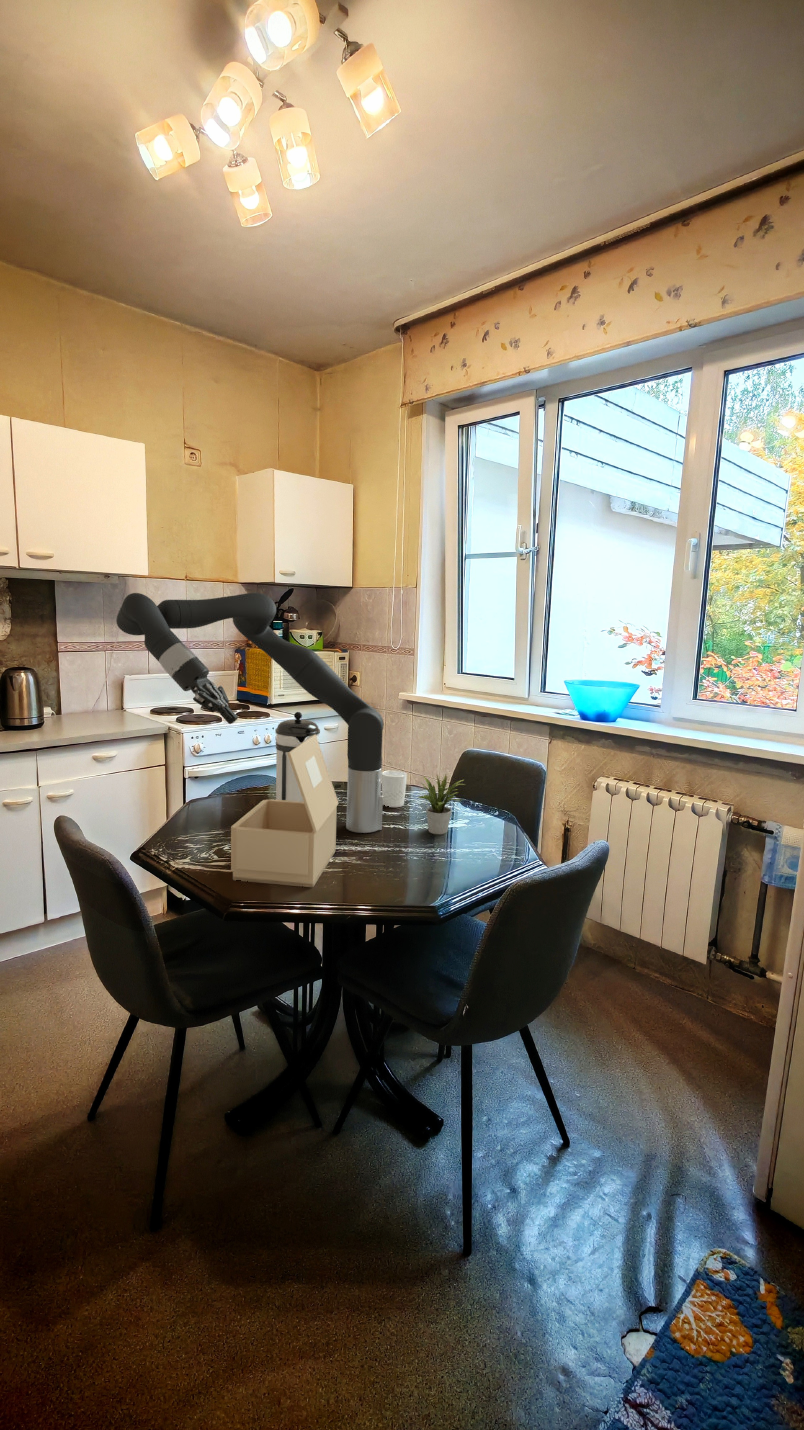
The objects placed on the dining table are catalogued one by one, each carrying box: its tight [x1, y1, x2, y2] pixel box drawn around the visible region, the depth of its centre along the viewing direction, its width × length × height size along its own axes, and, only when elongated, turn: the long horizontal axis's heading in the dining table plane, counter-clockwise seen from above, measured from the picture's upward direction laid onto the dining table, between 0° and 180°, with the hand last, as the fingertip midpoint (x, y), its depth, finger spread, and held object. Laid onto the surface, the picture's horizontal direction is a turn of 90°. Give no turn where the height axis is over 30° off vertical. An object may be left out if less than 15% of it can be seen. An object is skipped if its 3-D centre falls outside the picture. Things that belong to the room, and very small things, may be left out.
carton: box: [230, 798, 338, 888], centre depth 151 cm, size 19×23×12 cm
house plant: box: [417, 773, 466, 835], centre depth 178 cm, size 14×14×16 cm
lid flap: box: [287, 734, 340, 833], centre depth 148 cm, size 18×22×1 cm
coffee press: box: [274, 711, 321, 802], centre depth 191 cm, size 17×16×30 cm
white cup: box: [381, 769, 408, 808], centre depth 203 cm, size 8×8×10 cm
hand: (234, 721), depth 152 cm, fingers closed
